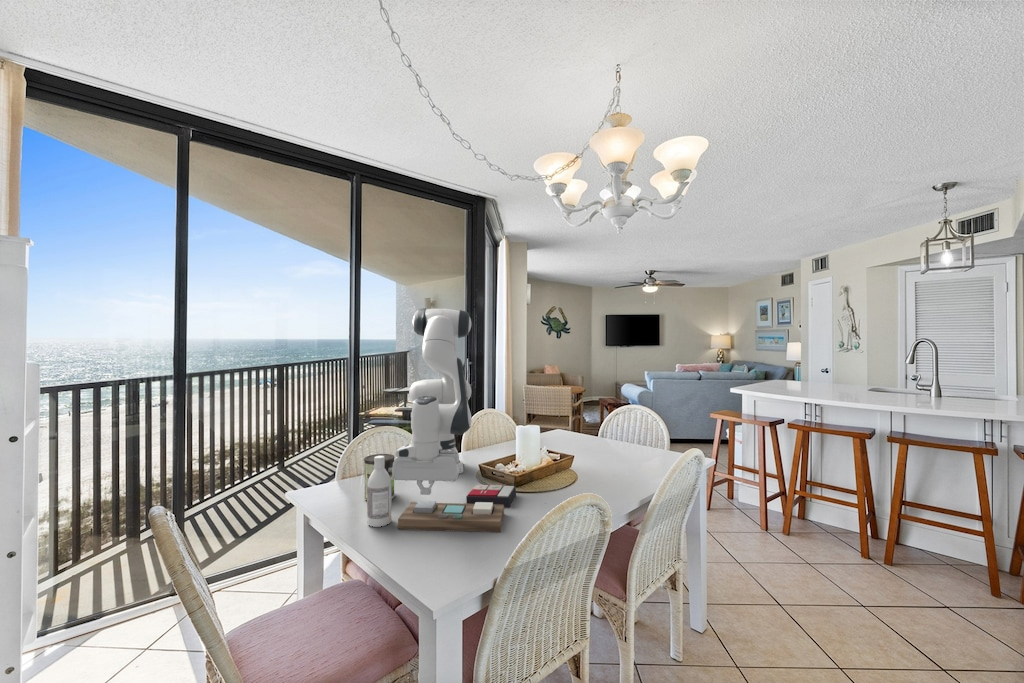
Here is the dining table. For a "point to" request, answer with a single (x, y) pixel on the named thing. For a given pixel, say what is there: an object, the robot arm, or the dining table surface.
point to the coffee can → (370, 468)
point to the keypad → (452, 519)
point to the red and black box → (492, 494)
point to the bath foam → (379, 495)
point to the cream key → (483, 508)
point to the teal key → (454, 509)
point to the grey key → (425, 507)
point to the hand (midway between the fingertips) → (425, 494)
